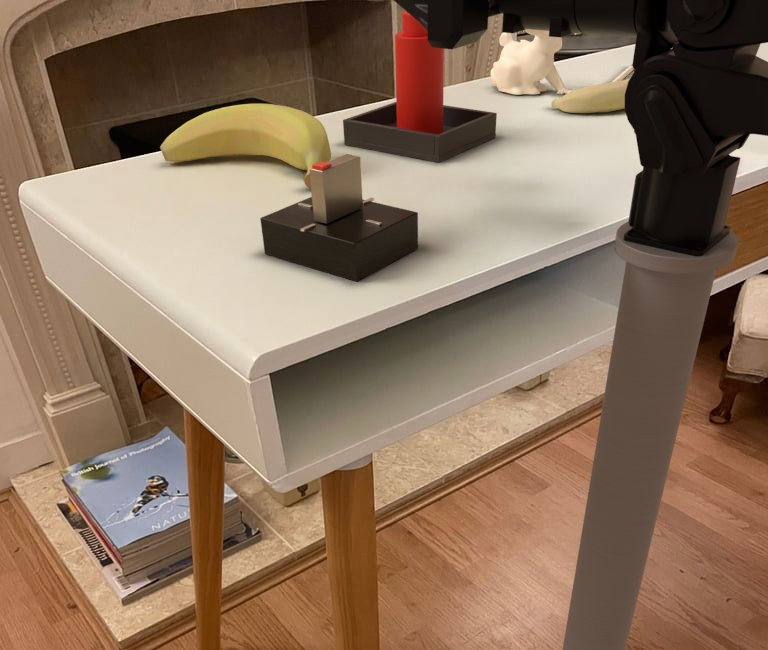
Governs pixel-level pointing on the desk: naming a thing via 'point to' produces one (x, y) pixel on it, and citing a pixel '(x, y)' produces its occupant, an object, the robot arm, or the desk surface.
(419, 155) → the tray
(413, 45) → the ketchup bottle
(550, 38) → the rabbit figurine
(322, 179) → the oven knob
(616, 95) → the fruit
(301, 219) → the black rectangular block
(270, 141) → the banana
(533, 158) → the desk surface
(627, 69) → the pale wooden rod
